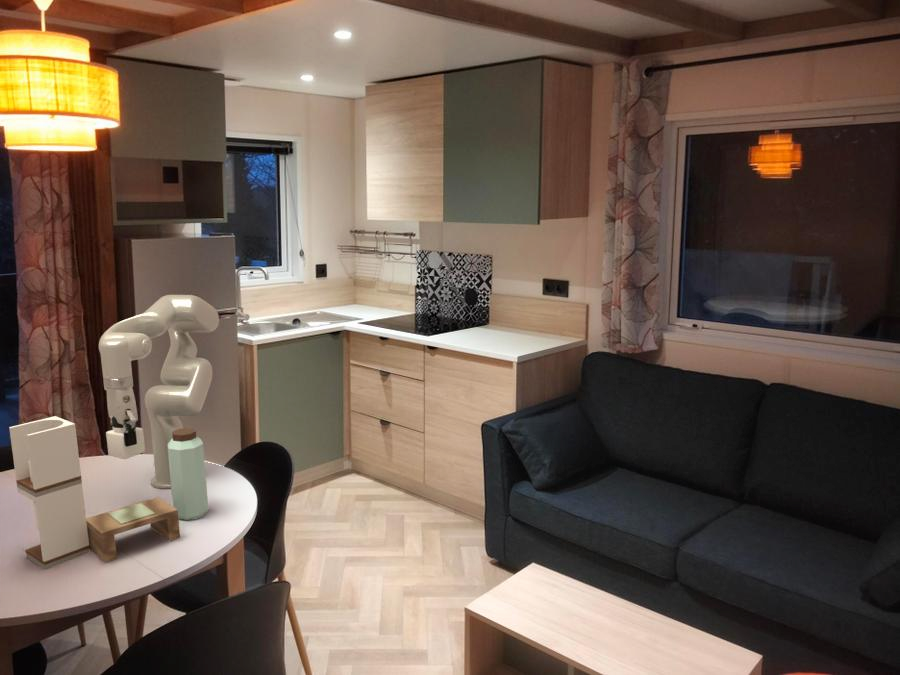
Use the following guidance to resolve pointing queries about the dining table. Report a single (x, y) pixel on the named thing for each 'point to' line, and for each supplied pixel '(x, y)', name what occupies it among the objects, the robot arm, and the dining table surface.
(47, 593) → the dining table surface
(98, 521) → the bench shelf
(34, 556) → the white tower
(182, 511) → the water bottle
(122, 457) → the medicine bottle
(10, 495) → the dining table surface
